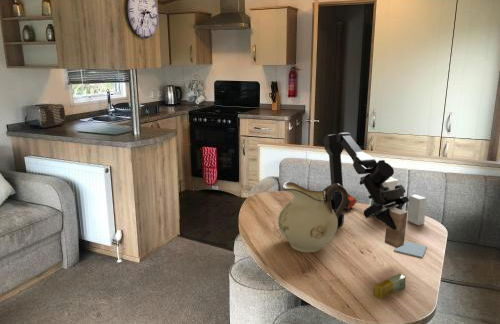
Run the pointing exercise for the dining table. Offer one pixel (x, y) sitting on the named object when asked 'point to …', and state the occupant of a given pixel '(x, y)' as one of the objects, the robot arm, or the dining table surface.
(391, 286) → the medication box
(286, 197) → the dining table surface
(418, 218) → the skincare box
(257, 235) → the dining table surface
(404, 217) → the wooden block
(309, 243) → the pitcher
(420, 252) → the slate-blue rubber mat
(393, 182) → the milk carton
